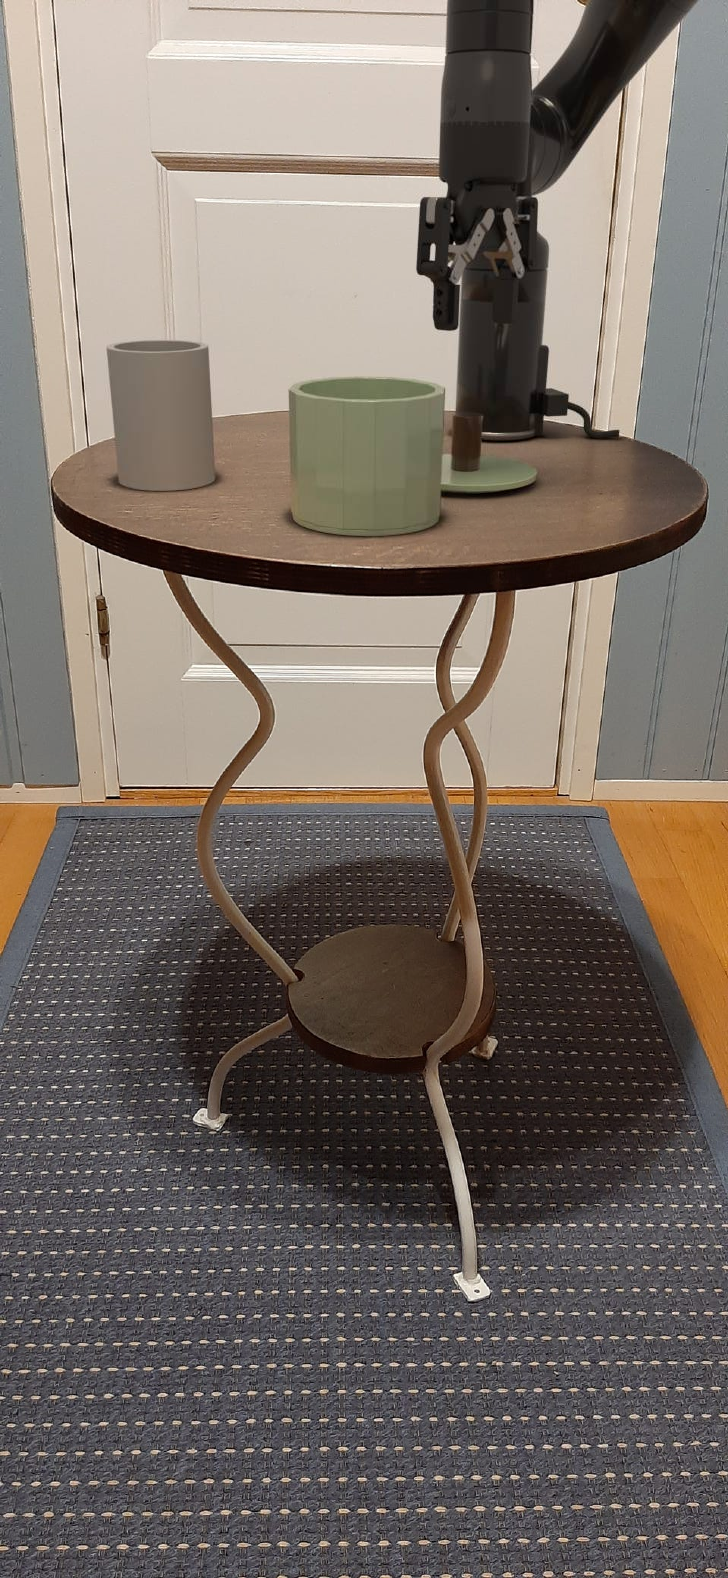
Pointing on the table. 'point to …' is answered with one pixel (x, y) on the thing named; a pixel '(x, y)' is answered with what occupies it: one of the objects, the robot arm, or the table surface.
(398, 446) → the jar
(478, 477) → the jar lid
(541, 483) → the table surface
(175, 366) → the cup
